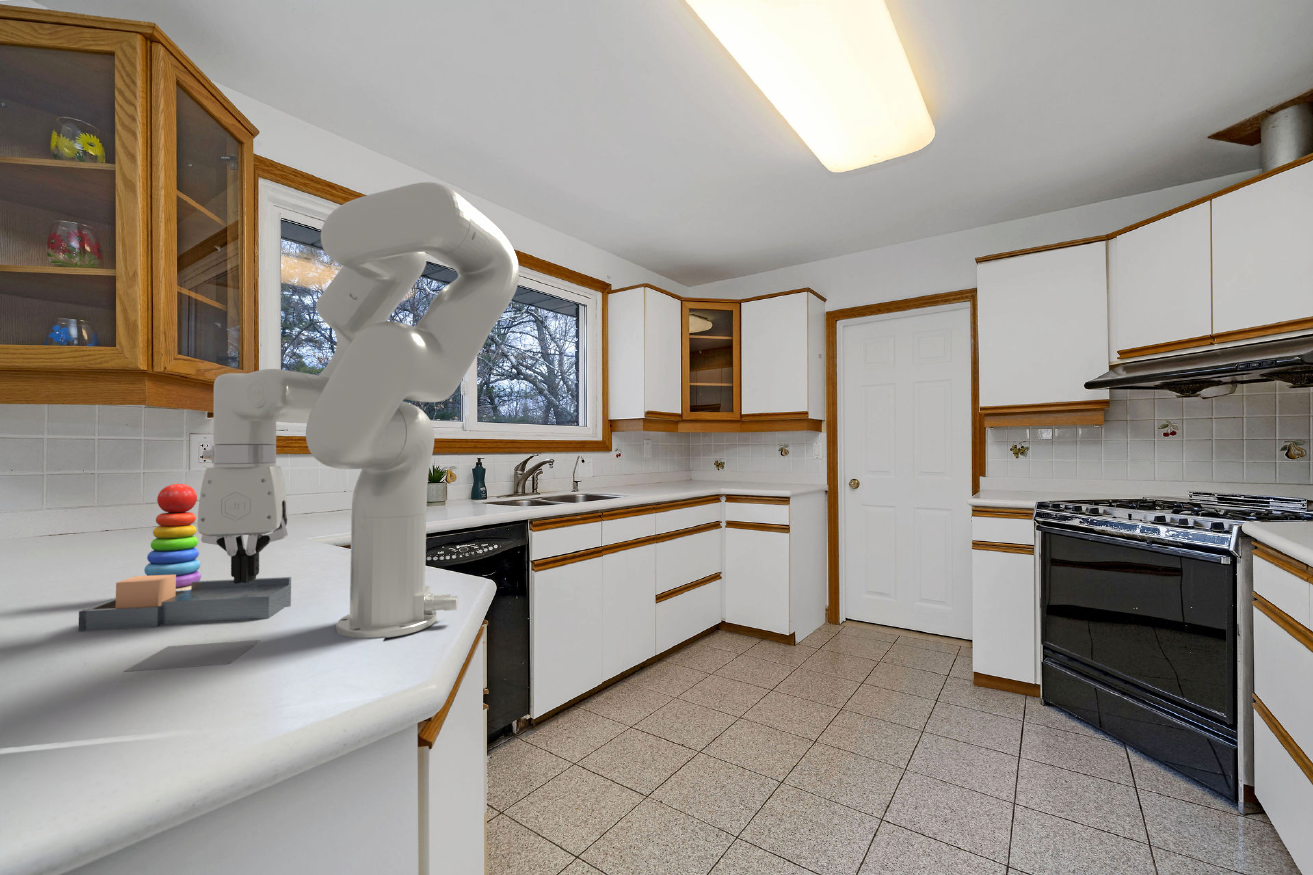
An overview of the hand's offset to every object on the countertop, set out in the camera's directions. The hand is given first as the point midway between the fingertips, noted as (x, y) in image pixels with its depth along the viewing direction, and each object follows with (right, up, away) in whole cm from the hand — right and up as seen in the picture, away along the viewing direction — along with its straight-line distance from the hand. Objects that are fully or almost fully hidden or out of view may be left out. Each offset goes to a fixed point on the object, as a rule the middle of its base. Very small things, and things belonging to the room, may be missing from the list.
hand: (245, 580), depth 82 cm
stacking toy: (-19, -5, +10) cm, 22 cm away
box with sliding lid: (-6, -5, -1) cm, 8 cm away
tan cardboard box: (-10, -2, -2) cm, 10 cm away
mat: (+7, -5, -17) cm, 19 cm away
